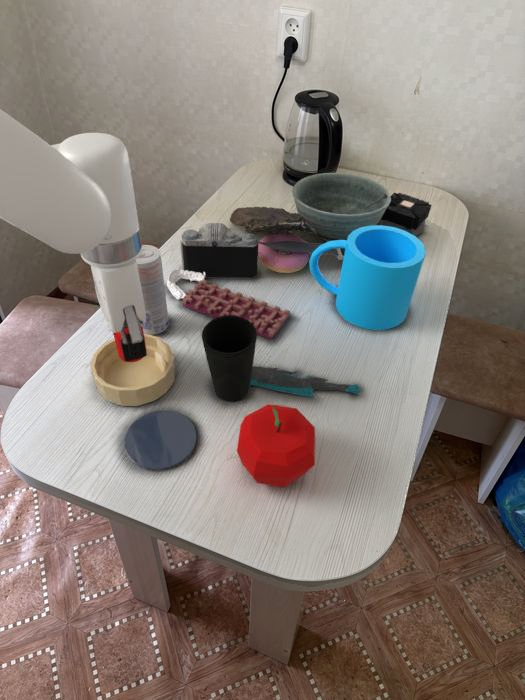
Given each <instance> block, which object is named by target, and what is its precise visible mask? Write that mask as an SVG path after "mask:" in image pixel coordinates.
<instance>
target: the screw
mask: <svg viewBox="0 0 525 700" xmlns="http://www.w3.org/2000/svg"><path fill="white" fill-rule="evenodd" d="M384 198H385V199H387V198H388V195H387V194H384V195H383V197H382V198H380V199H379V200H377V201H375V202H374V203H372V204H370V205H368V206H367V207H365V208H364V209H366V208H368V207H370V206H372V205H373V204H375V203H377V202H378V201H380V200H382V199H384Z"/></svg>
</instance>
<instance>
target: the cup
mask: <svg viewBox="0 0 525 700" xmlns="http://www.w3.org/2000/svg"><path fill="white" fill-rule="evenodd" d="M257 339H258V335H257V332H256V328H255V327H254V325H253V324H252V323H251V322H250V321H248V320H246V319H245V318H242V317H239V316H233V315H228V316H221V317H218V318H213V319H211V320H210V321H208V322H207V323H206V325H205V326H204V327H203V329H202V331H201V341H202V345H203V349H204V353H205V358H206V362H207V367H208V371H209V374H210V378H211V383H212V387H213V390H214V394H215V396H216V397H218V399H220V400H222V401H224V402H229V403H234V402H238V401H240V400H243V399H244V398H246V397H247V395H248V394H249V392H250V389H251V385H250V382H251V375H252V368H253V366H254V360H255V353H256V346H257Z"/></svg>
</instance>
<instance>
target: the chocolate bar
mask: <svg viewBox="0 0 525 700" xmlns="http://www.w3.org/2000/svg"><path fill="white" fill-rule="evenodd" d="M219 286H220V285H218V284H216V283H212V284H209V283H208V281H207V280H205V279H204V280H202V281H197V284H195V285H194V286H193V290H192V289H190V290H189V291H188V294H187V295H188V296H185V297H184V298H183V299H182V306H183V307H185V308H188V309H190V310H193V311H195V312H198V313H200V314H203V315H206V316H208V317H212V318H213V319H215V318H218V317H221V316H228V315H233V316H239V317H242V318H245V319H246V320H248V321H250V322H251V323H252V324H253V325H254V327H255V328H256V332H257V336H260V337H263V338H266V339H268V340H270V341H272V340H274V338H275V337H276V336H277V334H278V333H279V331H280V330H281V329H282V327H284V325H285V324H286V323H287V321H288V320H289V319H290V317H291V310H289V309H284V310H281V307H280V306H278V305H274V307H273V306H270V305H268V304H269V303H268V302H267V301H264V300H263V301H262V302H259V301H256V298H254V297H253V296H249V297H245V296H244V295H243V293H241V292H240V291H237V293H234V292H231V291H232V290H231V288H230V289H229V288H228V287H225V288H220V287H219Z"/></svg>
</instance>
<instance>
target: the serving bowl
mask: <svg viewBox="0 0 525 700" xmlns="http://www.w3.org/2000/svg"><path fill="white" fill-rule="evenodd" d="M144 338H145V344H146V350H147V352H146V353H147V355H146V356H145V357H143V358H142V359H141V360H139V361H136V362H125V361H123V360H121V359H120V358H119V356H118V352H117V347H116V343H115V338H114V337H113V338H111V339H110V340H107V342H105V343H103V344H102V345H101V346H100V347H99V348H98V349H97V350H96V351H95V353H94V354H93V355H92V359H91V362H90V370H91V373H92V374H91V375H92V377H93V382H94V384H95V388H96V390H97V393H98V394H99V395H100V396H101V397H103V398H104V399H105V400H106V401H107V402H108V403H109V402H110V403H112V404H115V405H118V406H121V407H130V406H131V407H132V406H133V407H135V406H137V407H138V406H142V405H145V404H148V403H151V402H154V401H156V400H158V399H159V398H160V397H162V396H164V395H165V394H167V393H168V391H169V389H171V387H172V385H174V382H175V378H176V365H175V364H176V363H175V353H174V352H173V350H172V348H171V346H170V344H169V343H167V342H166V341H165V340H163V339H162V338H161V337H159V336H156V335H154V334H153V335H149V334H145V333H144Z"/></svg>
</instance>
